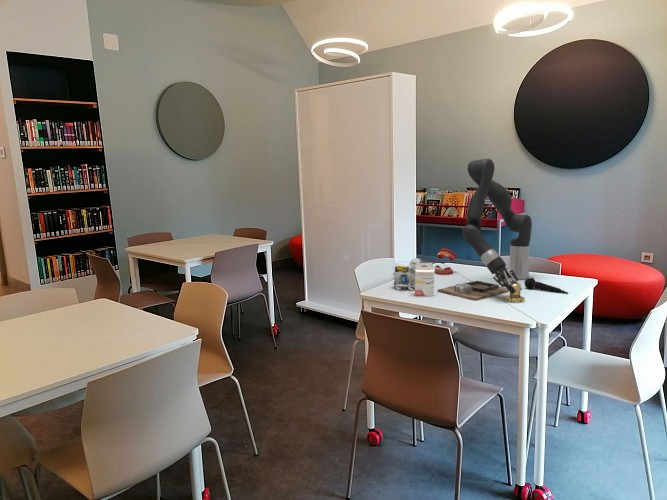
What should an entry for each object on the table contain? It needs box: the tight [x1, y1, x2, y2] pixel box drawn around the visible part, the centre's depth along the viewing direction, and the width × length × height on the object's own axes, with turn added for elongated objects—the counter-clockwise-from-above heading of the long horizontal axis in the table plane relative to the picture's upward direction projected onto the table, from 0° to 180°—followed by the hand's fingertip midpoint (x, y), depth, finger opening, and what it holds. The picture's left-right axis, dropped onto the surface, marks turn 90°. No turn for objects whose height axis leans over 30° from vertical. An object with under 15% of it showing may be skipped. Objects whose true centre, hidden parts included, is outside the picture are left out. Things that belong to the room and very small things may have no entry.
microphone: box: [524, 277, 569, 295], centre depth 232 cm, size 6×6×20 cm
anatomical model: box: [434, 247, 458, 276], centre depth 275 cm, size 10×8×15 cm
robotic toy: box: [391, 257, 427, 292], centre depth 243 cm, size 13×17×15 cm
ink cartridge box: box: [414, 262, 435, 297], centre depth 230 cm, size 9×5×15 cm, turn 84°
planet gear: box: [505, 282, 525, 304], centre depth 216 cm, size 8×8×8 cm
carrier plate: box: [437, 280, 510, 302], centre depth 234 cm, size 26×22×4 cm
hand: (517, 291), depth 216 cm, fingers closed on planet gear, 4 cm apart
